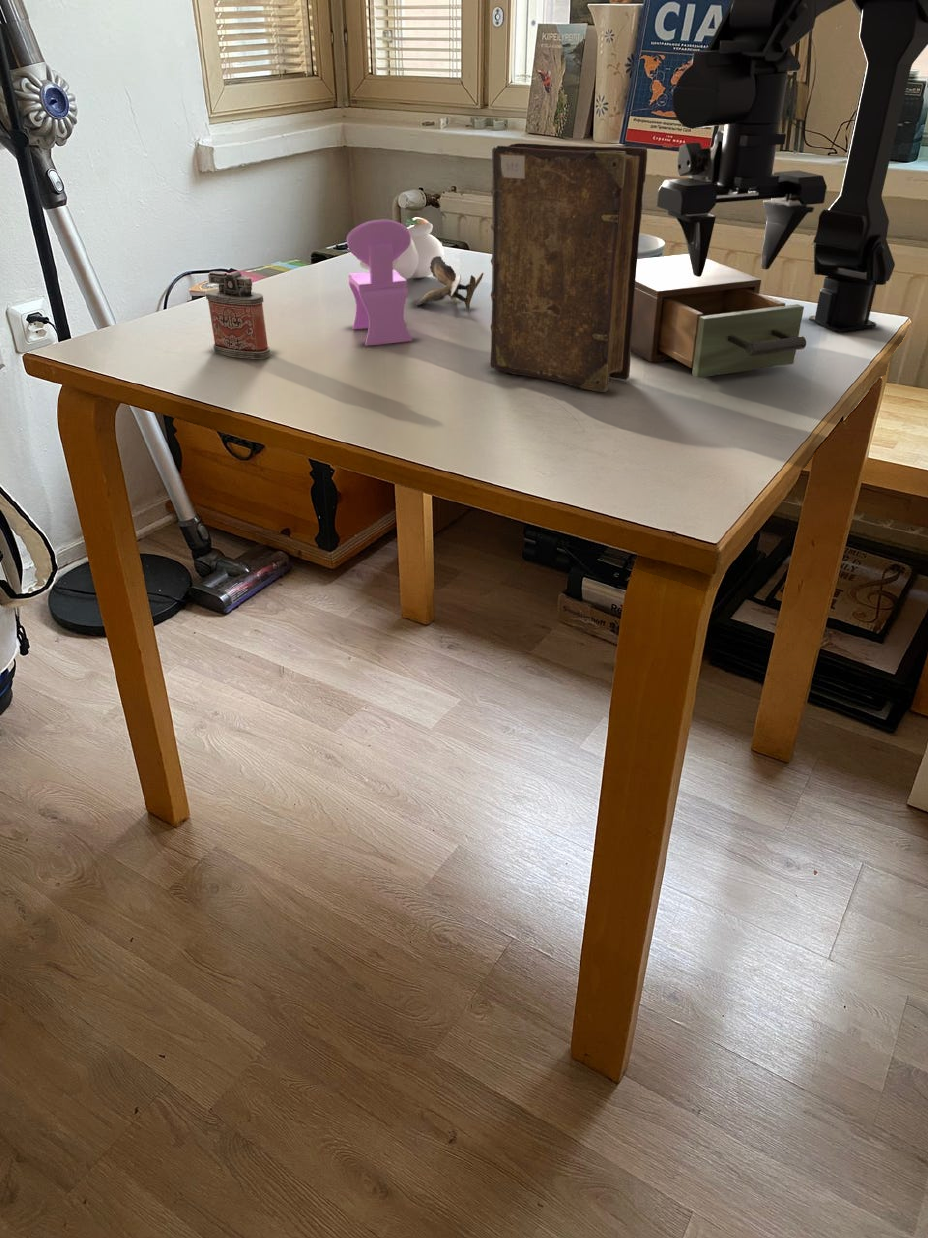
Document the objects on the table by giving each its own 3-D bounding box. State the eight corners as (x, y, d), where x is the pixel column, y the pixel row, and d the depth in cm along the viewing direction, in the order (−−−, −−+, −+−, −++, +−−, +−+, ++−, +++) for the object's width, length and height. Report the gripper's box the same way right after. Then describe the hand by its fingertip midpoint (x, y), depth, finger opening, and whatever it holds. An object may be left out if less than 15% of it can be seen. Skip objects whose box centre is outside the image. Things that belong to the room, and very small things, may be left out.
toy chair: (402, 322, 132) (397, 207, 124) (419, 340, 125) (415, 219, 117) (344, 328, 130) (335, 211, 122) (358, 346, 123) (349, 224, 115)
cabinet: (750, 348, 121) (761, 279, 116) (650, 362, 117) (658, 291, 112) (685, 316, 133) (693, 253, 129) (593, 328, 129) (597, 263, 124)
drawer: (822, 377, 109) (834, 318, 105) (723, 392, 105) (732, 331, 101) (725, 331, 124) (732, 277, 121) (635, 342, 121) (640, 288, 117)
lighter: (275, 352, 122) (265, 272, 116) (260, 360, 119) (249, 278, 113) (224, 345, 124) (212, 266, 119) (208, 352, 122) (195, 272, 116)
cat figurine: (440, 209, 153) (362, 209, 144) (464, 243, 150) (386, 245, 142) (419, 257, 160) (344, 259, 152) (442, 290, 158) (366, 295, 149)
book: (483, 369, 115) (483, 142, 102) (515, 354, 120) (520, 135, 106) (603, 396, 107) (621, 153, 93) (632, 379, 112) (654, 145, 98)
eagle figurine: (486, 292, 141) (433, 275, 143) (482, 257, 135) (427, 240, 137) (463, 330, 139) (410, 312, 141) (458, 297, 132) (402, 278, 135)
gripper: (779, 111, 110) (757, 251, 119) (639, 118, 105) (626, 264, 113) (842, 120, 102) (814, 270, 110) (693, 128, 96) (675, 286, 105)
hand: (731, 272), depth 110 cm, fingers open, 9 cm apart
